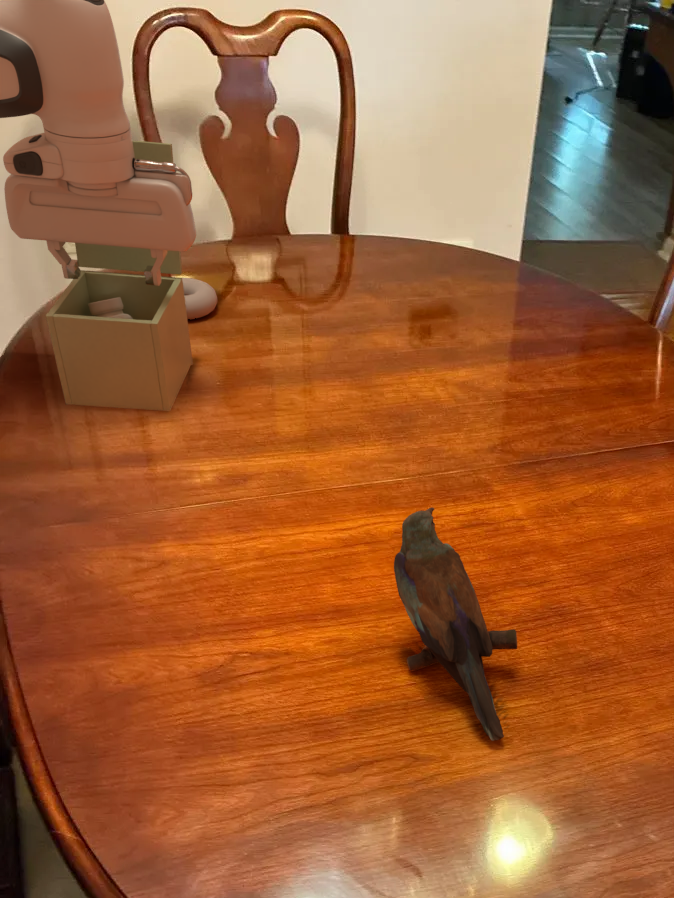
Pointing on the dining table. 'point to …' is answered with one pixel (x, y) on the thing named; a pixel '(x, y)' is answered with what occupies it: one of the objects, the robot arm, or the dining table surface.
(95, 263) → the lid
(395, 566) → the bird figurine
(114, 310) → the supplement bottle
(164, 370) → the chest
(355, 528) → the dining table surface
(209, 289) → the donut
